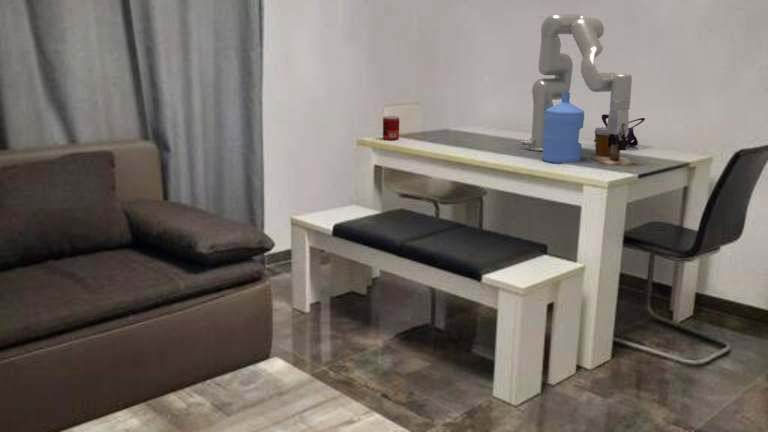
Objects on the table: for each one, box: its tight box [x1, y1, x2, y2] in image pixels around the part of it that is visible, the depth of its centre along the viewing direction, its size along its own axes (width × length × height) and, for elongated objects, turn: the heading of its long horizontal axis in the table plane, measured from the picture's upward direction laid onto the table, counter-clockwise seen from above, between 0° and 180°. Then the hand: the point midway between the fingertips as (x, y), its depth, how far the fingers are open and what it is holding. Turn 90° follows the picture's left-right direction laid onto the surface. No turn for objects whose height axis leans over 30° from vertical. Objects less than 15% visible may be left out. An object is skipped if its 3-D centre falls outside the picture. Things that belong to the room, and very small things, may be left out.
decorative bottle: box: [593, 113, 646, 147], centre depth 336 cm, size 22×21×25 cm
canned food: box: [382, 115, 400, 142], centre depth 351 cm, size 8×8×11 cm
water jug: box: [541, 91, 585, 165], centre depth 297 cm, size 16×16×28 cm
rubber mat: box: [586, 158, 645, 167], centre depth 293 cm, size 18×16×1 cm
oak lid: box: [590, 145, 639, 165], centre depth 292 cm, size 14×14×7 cm
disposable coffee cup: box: [593, 127, 616, 157], centre depth 310 cm, size 10×10×12 cm
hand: (616, 148), depth 291 cm, fingers open, 9 cm apart
